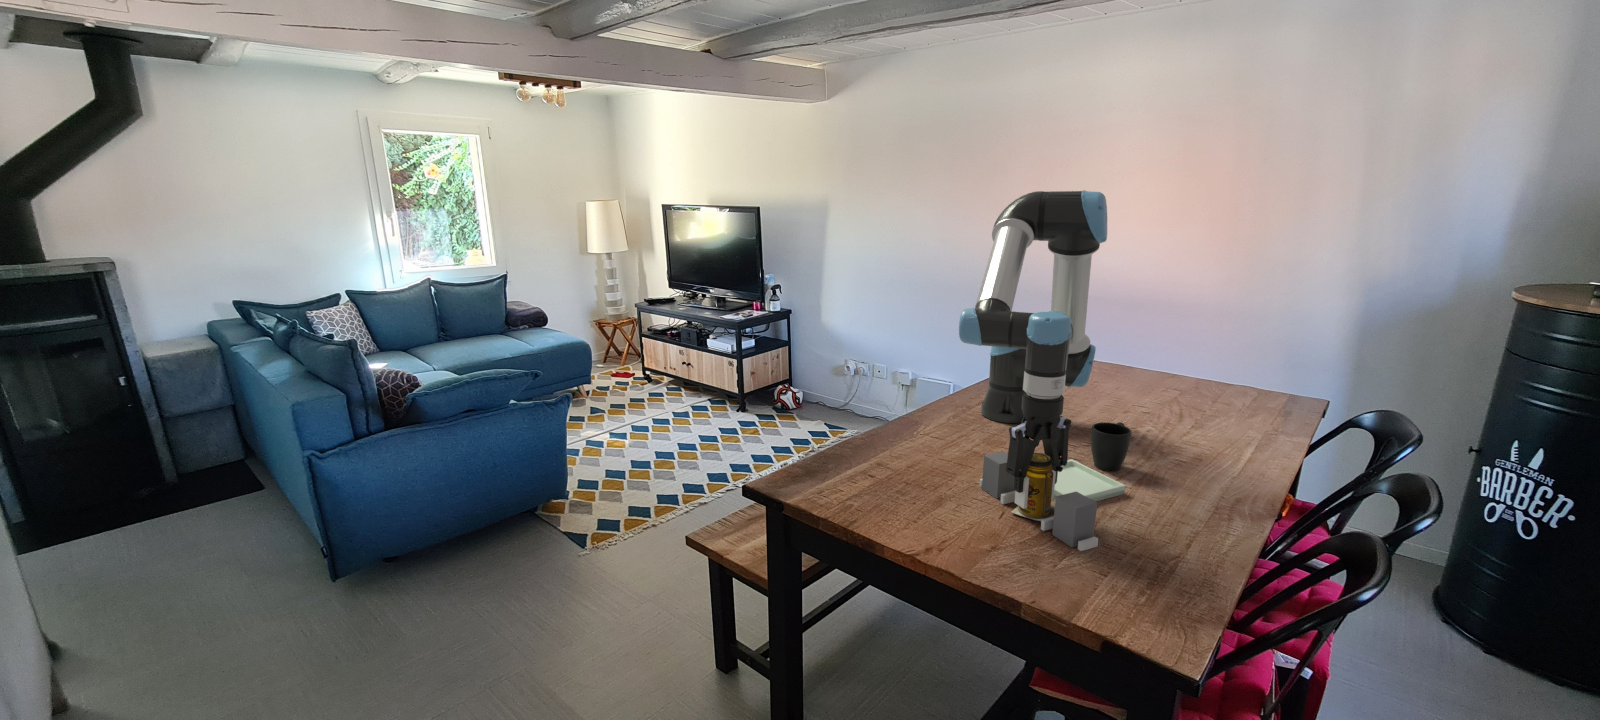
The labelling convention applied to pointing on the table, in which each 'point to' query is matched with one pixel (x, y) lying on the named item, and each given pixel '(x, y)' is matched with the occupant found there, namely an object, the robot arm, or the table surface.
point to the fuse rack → (1070, 509)
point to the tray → (1086, 482)
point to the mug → (1109, 445)
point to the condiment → (1039, 489)
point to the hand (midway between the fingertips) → (1033, 501)
